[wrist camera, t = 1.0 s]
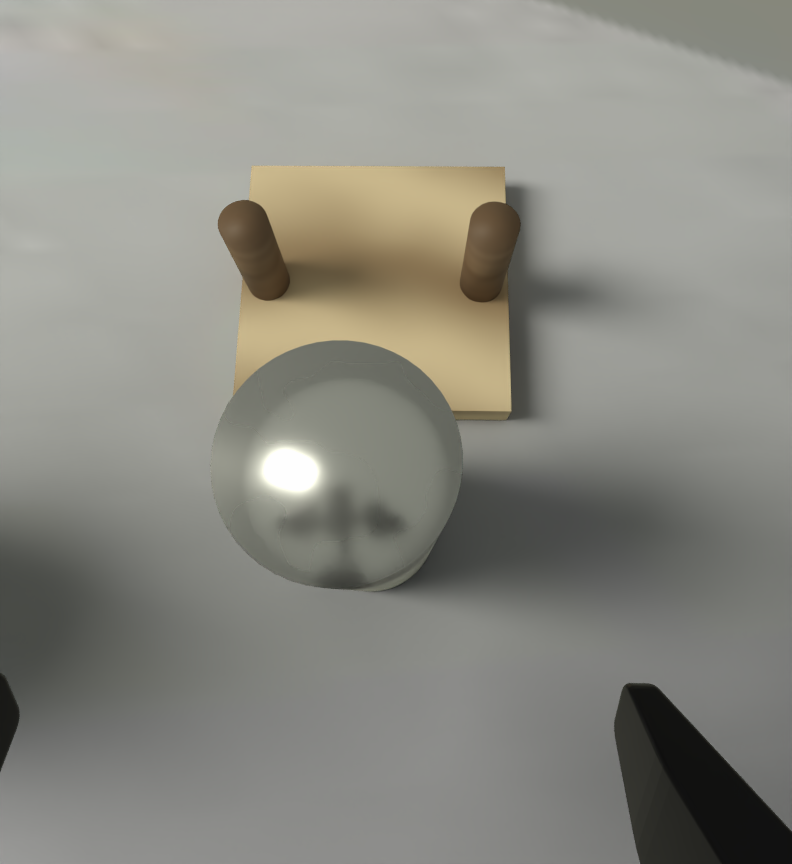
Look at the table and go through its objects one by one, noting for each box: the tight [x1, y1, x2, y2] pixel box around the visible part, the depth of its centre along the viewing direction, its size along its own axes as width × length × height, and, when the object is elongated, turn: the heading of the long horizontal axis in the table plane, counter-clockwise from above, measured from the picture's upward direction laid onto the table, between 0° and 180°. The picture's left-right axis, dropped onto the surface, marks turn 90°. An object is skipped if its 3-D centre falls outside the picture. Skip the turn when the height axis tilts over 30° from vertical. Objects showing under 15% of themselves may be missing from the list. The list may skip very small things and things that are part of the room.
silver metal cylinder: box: [210, 340, 463, 591], centre depth 18 cm, size 5×5×12 cm
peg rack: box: [218, 166, 521, 420], centre depth 23 cm, size 10×10×5 cm
